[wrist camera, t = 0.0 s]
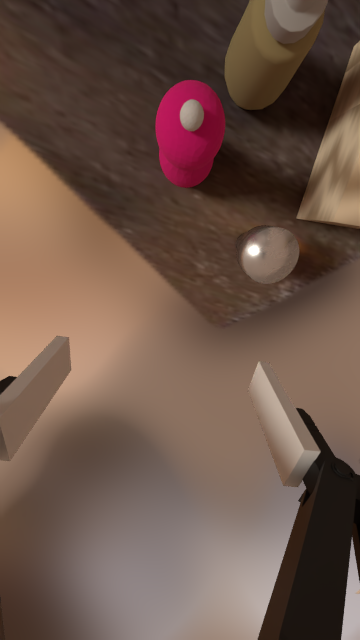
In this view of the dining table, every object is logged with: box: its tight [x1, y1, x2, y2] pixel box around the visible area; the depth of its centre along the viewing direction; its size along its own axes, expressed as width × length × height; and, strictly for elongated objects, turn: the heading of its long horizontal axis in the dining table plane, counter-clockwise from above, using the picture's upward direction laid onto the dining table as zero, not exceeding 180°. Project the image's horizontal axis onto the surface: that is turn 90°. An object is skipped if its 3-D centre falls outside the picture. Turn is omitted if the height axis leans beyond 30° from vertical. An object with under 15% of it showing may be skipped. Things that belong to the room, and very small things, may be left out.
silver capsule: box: [236, 225, 299, 284], centre depth 34 cm, size 7×7×12 cm
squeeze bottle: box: [225, 0, 328, 110], centre depth 22 cm, size 8×8×18 cm
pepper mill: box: [156, 80, 225, 188], centre depth 25 cm, size 7×7×20 cm
